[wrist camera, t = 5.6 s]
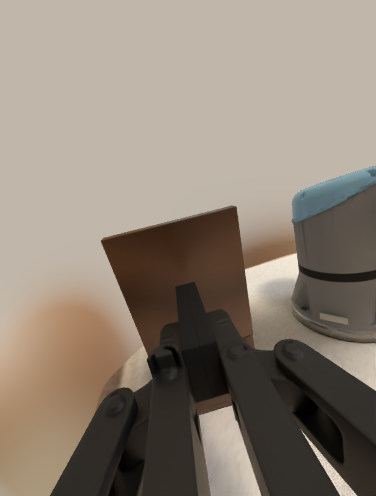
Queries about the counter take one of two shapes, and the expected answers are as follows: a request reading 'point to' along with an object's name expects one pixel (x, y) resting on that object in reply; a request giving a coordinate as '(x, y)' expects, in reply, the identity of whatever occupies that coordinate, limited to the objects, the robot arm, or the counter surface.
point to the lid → (181, 270)
